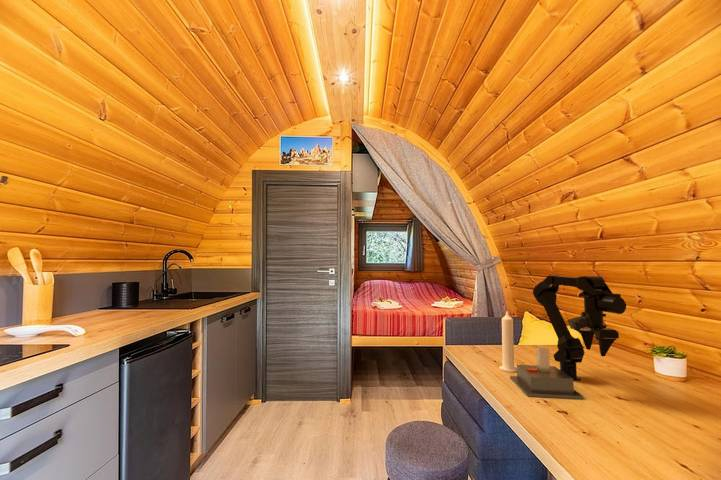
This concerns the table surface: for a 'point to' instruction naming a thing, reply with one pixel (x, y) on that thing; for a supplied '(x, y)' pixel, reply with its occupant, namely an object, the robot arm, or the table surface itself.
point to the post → (543, 360)
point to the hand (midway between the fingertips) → (595, 352)
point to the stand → (545, 383)
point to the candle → (507, 344)
